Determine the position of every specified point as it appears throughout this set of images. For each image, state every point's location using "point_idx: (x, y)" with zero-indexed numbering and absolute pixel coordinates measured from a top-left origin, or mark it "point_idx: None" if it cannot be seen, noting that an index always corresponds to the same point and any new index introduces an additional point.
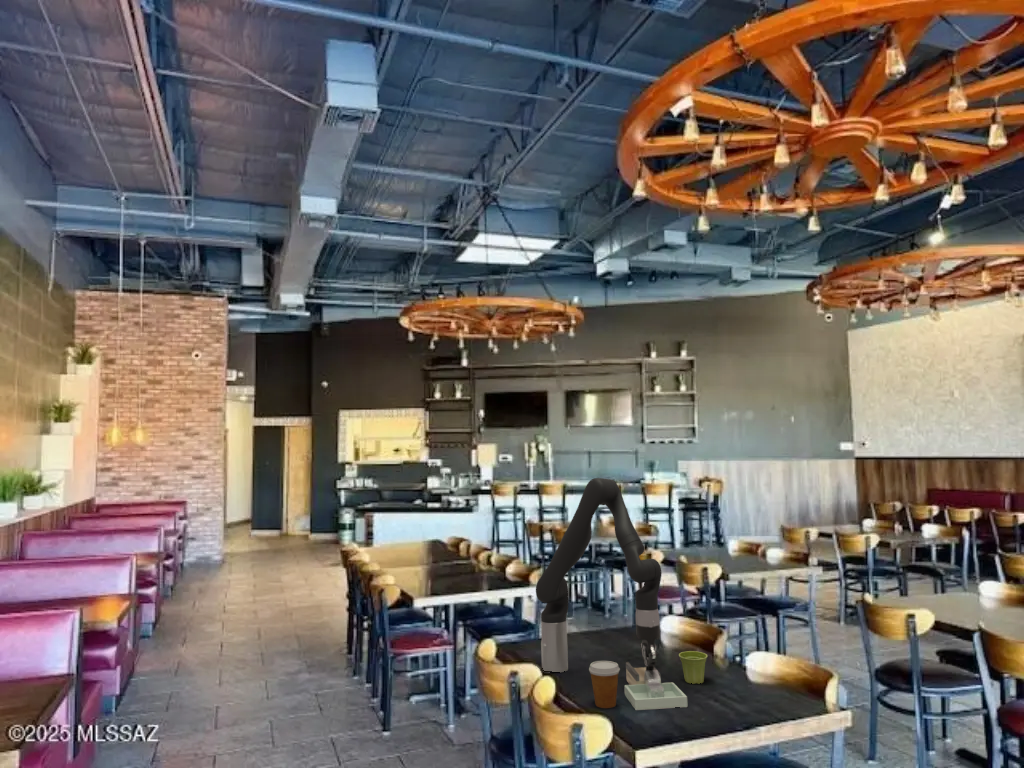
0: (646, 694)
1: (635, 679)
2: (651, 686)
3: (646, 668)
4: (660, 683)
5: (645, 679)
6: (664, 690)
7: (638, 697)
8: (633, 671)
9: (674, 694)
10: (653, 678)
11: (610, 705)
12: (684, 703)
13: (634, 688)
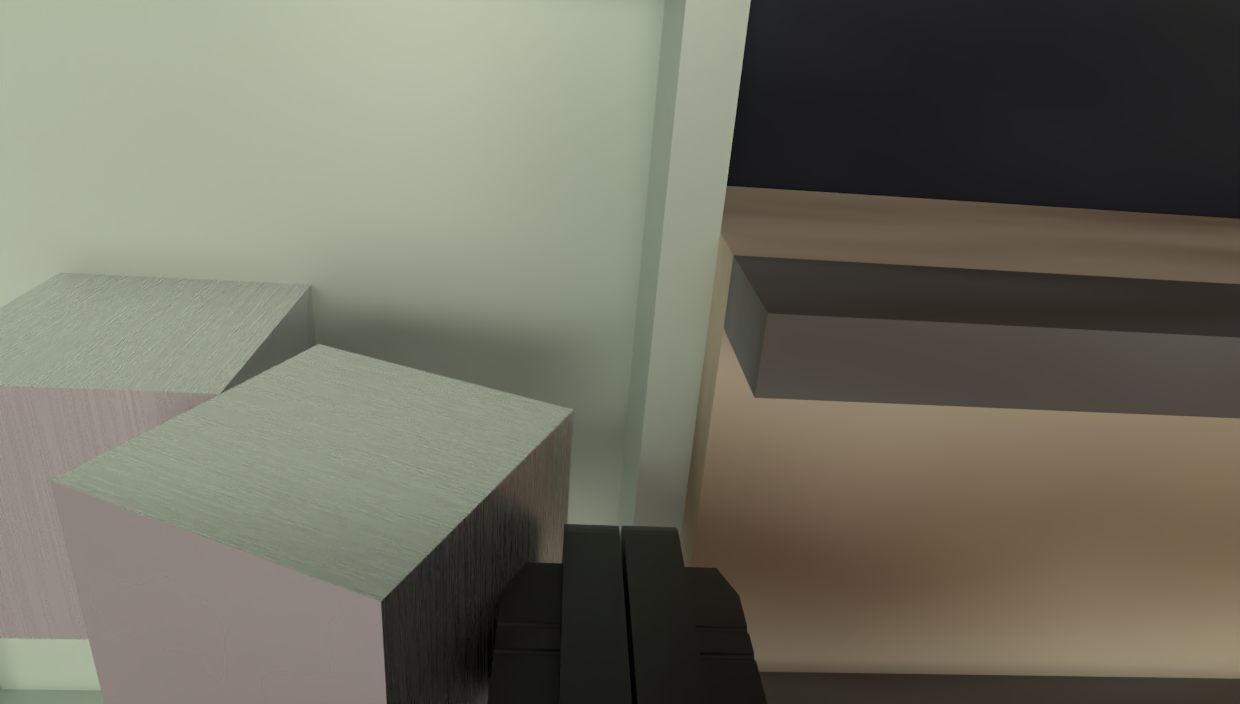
0: (528, 319)
1: (824, 264)
2: (112, 448)
3: (610, 698)
4: None
5: (391, 443)
6: None
7: (389, 122)
8: (1089, 333)
9: None
10: (110, 628)
11: None
12: None
13: (661, 147)
